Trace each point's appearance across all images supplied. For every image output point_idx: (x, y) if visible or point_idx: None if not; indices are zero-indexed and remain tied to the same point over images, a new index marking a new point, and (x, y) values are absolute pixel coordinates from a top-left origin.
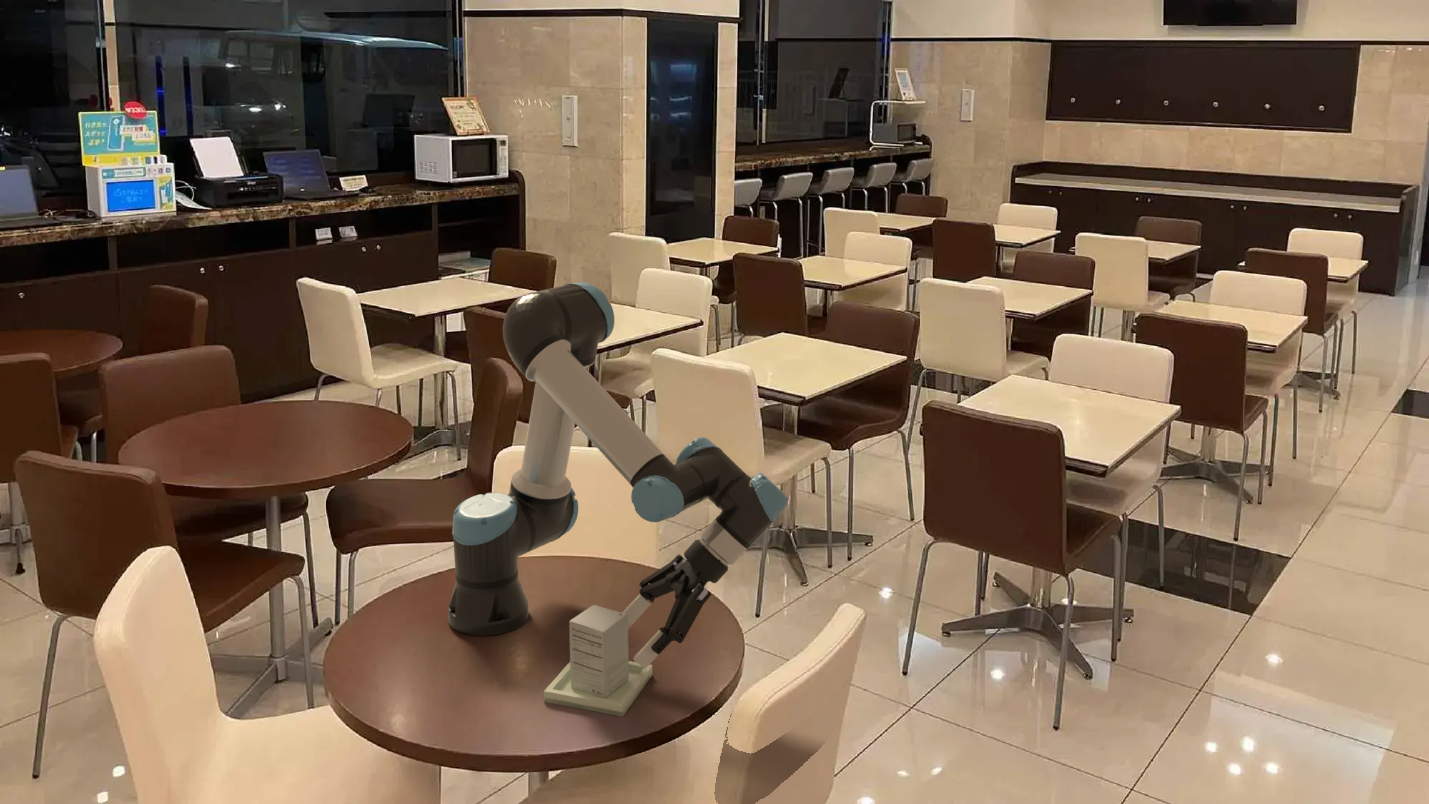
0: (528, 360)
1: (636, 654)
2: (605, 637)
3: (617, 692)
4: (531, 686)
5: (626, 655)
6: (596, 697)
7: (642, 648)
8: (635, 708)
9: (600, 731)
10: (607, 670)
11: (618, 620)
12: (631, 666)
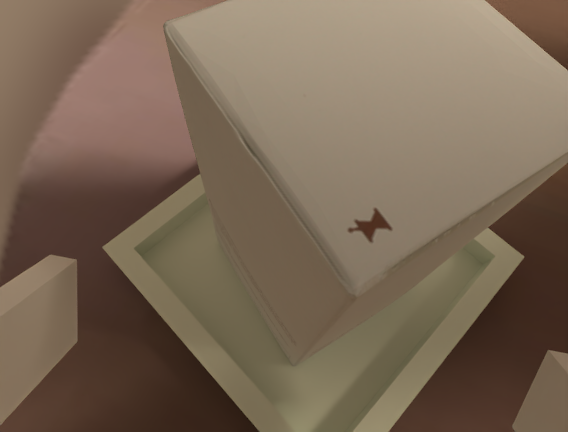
0: None
1: (55, 273)
2: (175, 75)
3: (234, 292)
4: None
5: (291, 334)
6: (201, 194)
7: (10, 301)
8: (135, 321)
9: (87, 175)
10: (212, 206)
11: (275, 171)
12: (365, 412)
